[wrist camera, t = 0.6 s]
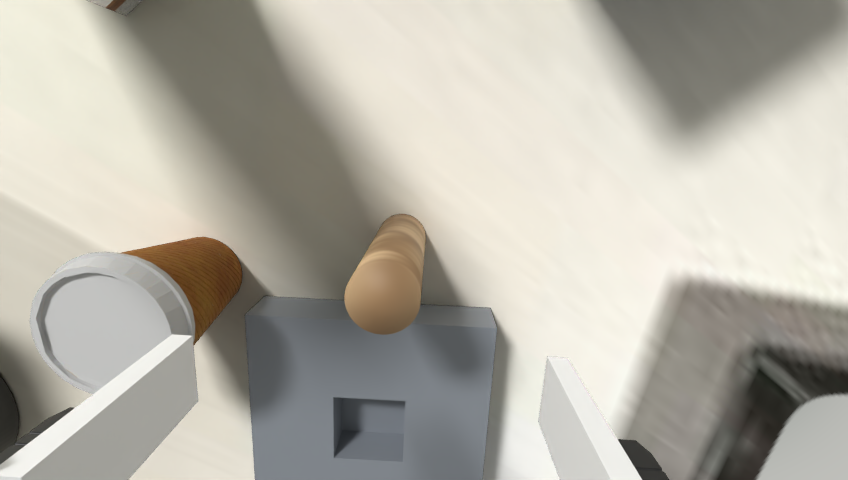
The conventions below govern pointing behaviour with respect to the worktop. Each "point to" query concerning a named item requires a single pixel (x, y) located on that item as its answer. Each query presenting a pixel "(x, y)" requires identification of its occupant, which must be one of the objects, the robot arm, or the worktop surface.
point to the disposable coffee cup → (129, 306)
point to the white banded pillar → (118, 5)
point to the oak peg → (389, 278)
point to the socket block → (368, 393)
